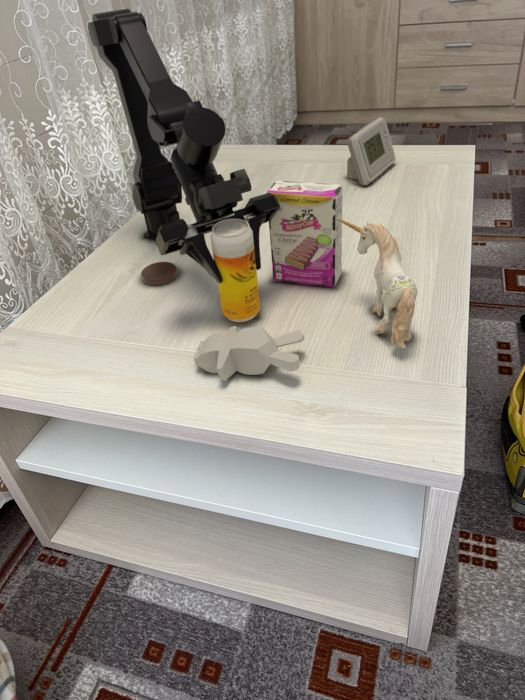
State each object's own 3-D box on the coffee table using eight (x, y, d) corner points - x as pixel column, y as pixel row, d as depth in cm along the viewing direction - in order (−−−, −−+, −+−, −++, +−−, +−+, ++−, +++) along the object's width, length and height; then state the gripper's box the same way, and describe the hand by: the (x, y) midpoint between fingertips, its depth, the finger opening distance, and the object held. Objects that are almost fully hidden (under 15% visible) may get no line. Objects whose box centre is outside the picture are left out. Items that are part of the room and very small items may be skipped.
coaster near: (135, 281, 99) (133, 276, 98) (156, 264, 103) (155, 259, 103) (163, 288, 97) (162, 282, 96) (184, 270, 101) (183, 265, 100)
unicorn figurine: (375, 281, 92) (378, 207, 84) (442, 347, 78) (455, 264, 69) (336, 292, 91) (336, 217, 82) (397, 361, 76) (404, 278, 68)
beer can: (256, 325, 85) (246, 237, 75) (218, 323, 86) (204, 236, 76) (264, 302, 89) (255, 217, 80) (227, 300, 90) (215, 216, 81)
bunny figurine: (202, 321, 81) (302, 313, 77) (211, 348, 84) (308, 342, 80) (184, 362, 74) (294, 357, 70) (195, 390, 77) (300, 386, 73)
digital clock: (364, 189, 122) (365, 140, 115) (332, 180, 127) (332, 133, 120) (407, 166, 130) (410, 119, 123) (375, 158, 135) (377, 113, 129)
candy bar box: (272, 282, 95) (264, 192, 85) (281, 268, 99) (274, 179, 88) (336, 289, 92) (335, 196, 81) (342, 274, 95) (343, 182, 85)
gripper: (145, 170, 72) (190, 279, 71) (269, 137, 78) (313, 238, 77) (139, 206, 83) (179, 301, 82) (249, 174, 88) (287, 263, 88)
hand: (240, 275), depth 82 cm, fingers closed on beer can, 6 cm apart
